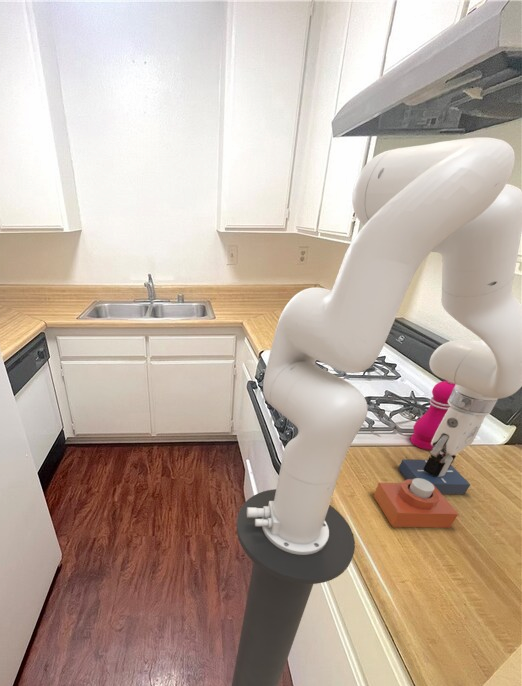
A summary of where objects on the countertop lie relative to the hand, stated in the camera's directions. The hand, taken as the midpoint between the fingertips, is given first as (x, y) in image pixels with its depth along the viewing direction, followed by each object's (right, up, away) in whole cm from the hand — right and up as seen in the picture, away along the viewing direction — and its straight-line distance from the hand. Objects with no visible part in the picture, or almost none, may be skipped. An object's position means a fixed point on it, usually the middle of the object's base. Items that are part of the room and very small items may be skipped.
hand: (436, 468), depth 81 cm
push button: (-10, -4, -10) cm, 14 cm away
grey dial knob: (0, -1, 0) cm, 1 cm away
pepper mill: (+7, +5, +16) cm, 18 cm away
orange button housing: (-10, -8, -6) cm, 15 cm away
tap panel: (0, -3, +2) cm, 4 cm away
